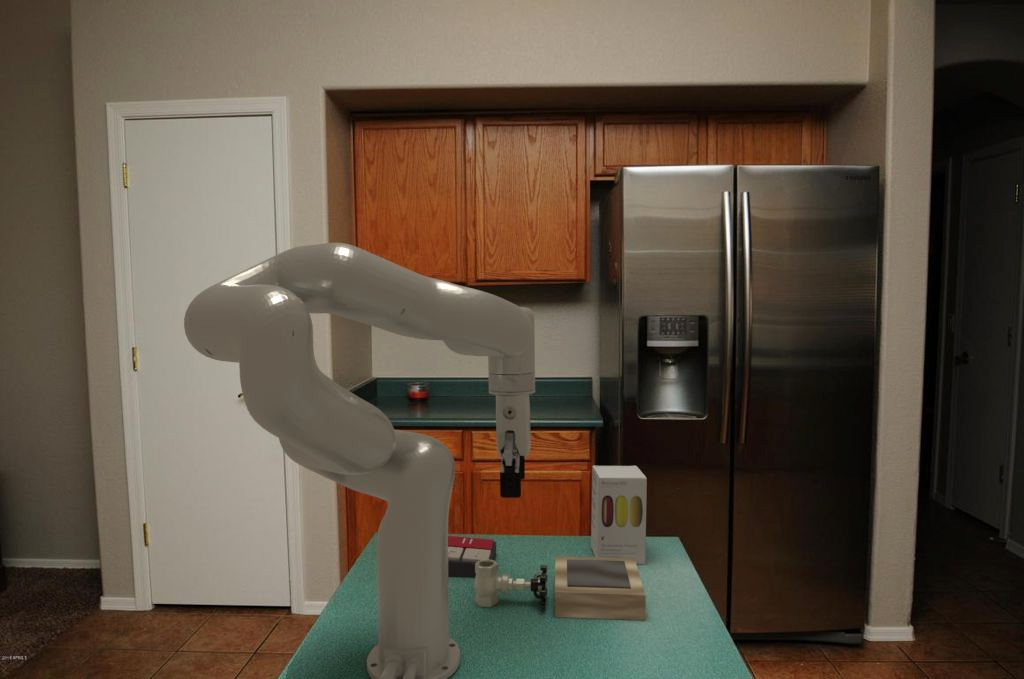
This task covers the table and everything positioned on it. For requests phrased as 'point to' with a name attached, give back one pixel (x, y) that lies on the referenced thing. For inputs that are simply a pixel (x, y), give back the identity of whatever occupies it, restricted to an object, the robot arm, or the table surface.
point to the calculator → (468, 554)
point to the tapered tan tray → (598, 588)
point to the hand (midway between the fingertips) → (513, 487)
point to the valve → (504, 584)
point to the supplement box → (619, 512)
